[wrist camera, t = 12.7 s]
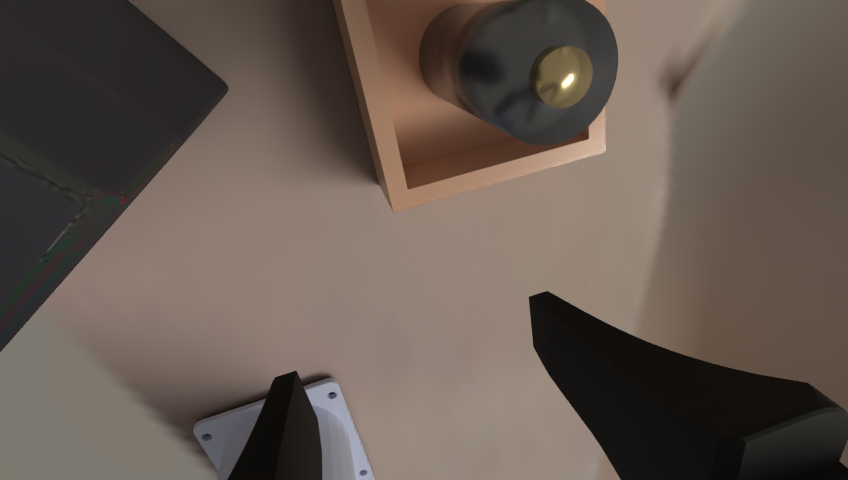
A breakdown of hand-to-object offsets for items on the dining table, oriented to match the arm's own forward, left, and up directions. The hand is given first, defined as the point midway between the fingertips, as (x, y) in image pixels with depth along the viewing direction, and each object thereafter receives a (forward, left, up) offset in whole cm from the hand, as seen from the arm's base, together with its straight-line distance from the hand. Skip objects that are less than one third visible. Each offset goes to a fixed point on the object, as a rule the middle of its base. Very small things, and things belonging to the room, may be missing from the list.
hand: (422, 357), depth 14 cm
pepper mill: (+7, -6, -10) cm, 13 cm away
